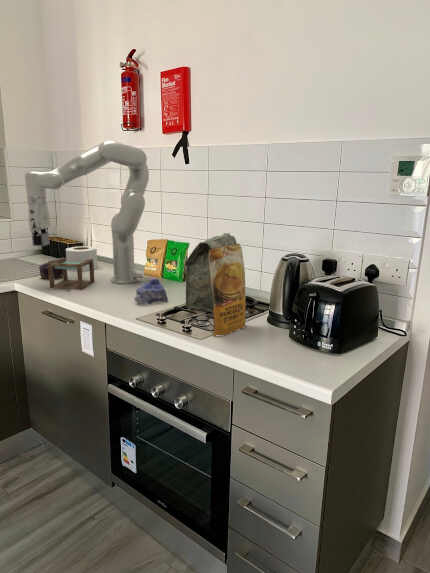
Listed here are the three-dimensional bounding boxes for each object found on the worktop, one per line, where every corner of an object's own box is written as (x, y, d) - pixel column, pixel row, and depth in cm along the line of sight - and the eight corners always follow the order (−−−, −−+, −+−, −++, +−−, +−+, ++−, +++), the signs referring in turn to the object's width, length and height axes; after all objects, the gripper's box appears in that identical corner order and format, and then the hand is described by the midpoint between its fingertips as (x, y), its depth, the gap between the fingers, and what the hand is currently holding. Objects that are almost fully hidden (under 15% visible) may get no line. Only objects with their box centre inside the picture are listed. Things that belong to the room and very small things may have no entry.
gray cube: (49, 244, 192) (48, 232, 191) (43, 245, 187) (42, 234, 186) (38, 243, 193) (37, 232, 192) (32, 245, 188) (31, 234, 187)
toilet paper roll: (60, 269, 229) (59, 248, 226) (84, 264, 241) (83, 244, 239) (80, 273, 221) (79, 252, 218) (103, 268, 233) (102, 247, 230)
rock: (39, 280, 210) (50, 283, 204) (34, 263, 207) (45, 265, 201) (61, 272, 218) (72, 275, 212) (57, 256, 215) (68, 258, 209)
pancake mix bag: (199, 334, 140) (200, 247, 133) (237, 320, 154) (240, 241, 147) (215, 340, 136) (217, 250, 129) (253, 325, 149) (256, 243, 142)
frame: (94, 281, 203) (93, 258, 201) (81, 289, 189) (80, 265, 187) (64, 280, 205) (63, 257, 202) (49, 288, 191) (47, 263, 188)
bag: (209, 294, 186) (210, 230, 179) (243, 300, 179) (246, 233, 172) (181, 308, 166) (181, 236, 160) (218, 315, 159) (220, 240, 152)
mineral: (156, 274, 180) (169, 277, 173) (159, 296, 183) (173, 300, 175) (125, 283, 172) (137, 287, 164) (129, 306, 175) (141, 311, 167)
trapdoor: (87, 264, 200) (87, 262, 200) (77, 269, 189) (77, 267, 189) (66, 263, 201) (65, 261, 201) (54, 268, 190) (54, 266, 190)
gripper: (35, 203, 177) (39, 247, 181) (55, 200, 193) (58, 241, 198) (17, 202, 178) (22, 247, 182) (38, 200, 194) (42, 240, 199)
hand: (41, 243), depth 190 cm, fingers closed on gray cube, 5 cm apart
